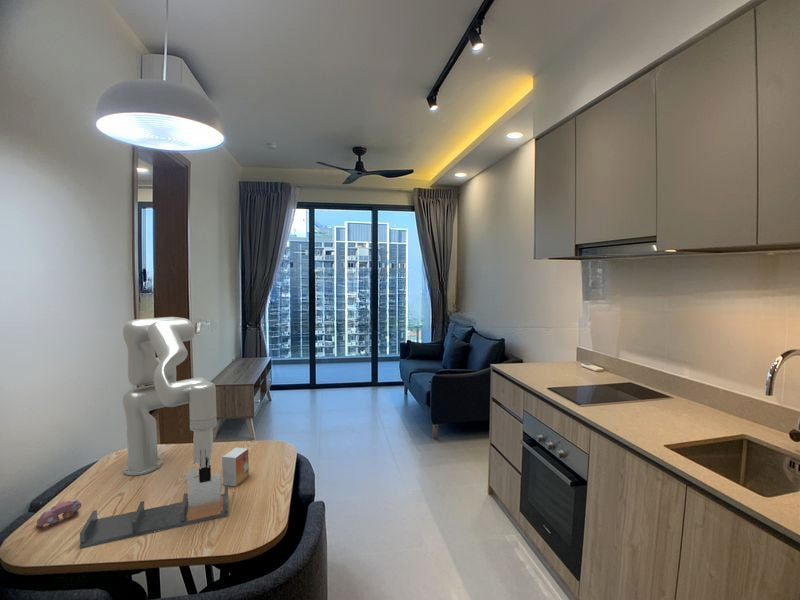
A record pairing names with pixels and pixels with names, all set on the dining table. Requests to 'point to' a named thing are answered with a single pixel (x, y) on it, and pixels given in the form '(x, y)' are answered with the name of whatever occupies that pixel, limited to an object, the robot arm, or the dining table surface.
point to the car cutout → (191, 474)
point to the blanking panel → (204, 493)
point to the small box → (235, 466)
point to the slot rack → (146, 521)
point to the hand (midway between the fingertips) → (205, 479)
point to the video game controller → (58, 512)
